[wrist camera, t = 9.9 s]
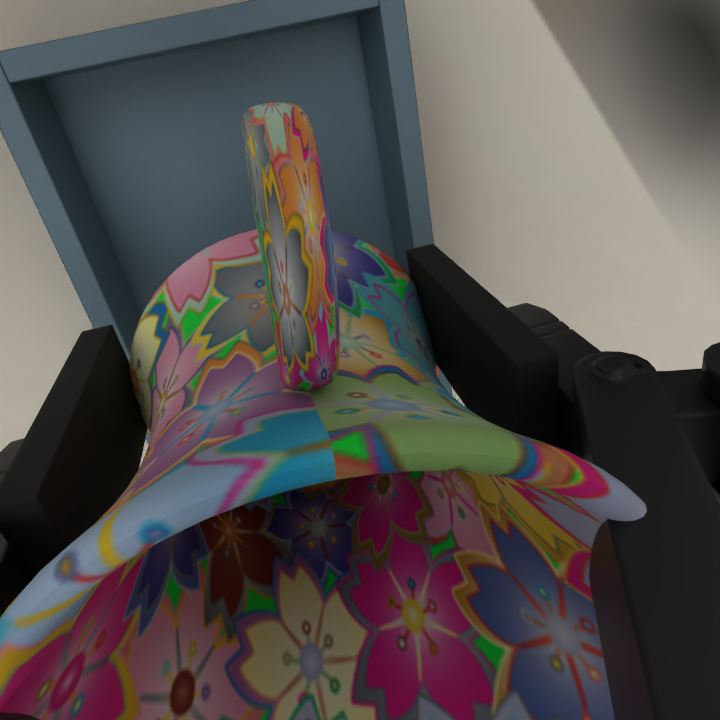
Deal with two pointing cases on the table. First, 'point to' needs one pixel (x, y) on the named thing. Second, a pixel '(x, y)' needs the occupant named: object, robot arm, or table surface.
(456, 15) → the table surface
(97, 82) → the tub
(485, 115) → the table surface
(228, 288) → the mug
